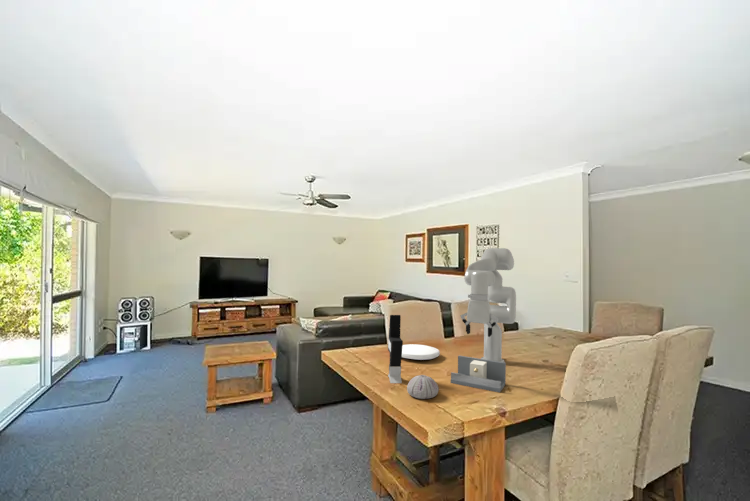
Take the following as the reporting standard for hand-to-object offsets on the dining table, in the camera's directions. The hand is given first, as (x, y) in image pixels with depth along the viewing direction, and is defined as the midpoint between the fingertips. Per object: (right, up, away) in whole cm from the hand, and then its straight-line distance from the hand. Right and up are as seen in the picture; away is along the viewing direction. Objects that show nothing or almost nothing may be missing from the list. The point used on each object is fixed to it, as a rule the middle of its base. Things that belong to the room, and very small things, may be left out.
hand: (478, 334), depth 169 cm
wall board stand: (-1, -22, -1) cm, 22 cm away
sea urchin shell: (-28, -22, -16) cm, 39 cm away
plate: (-24, -23, +44) cm, 55 cm away
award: (-39, -22, +3) cm, 45 cm away
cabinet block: (0, -21, 0) cm, 21 cm away
